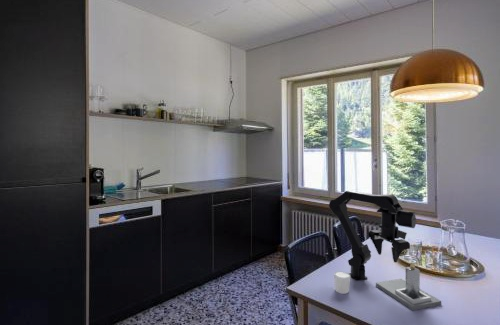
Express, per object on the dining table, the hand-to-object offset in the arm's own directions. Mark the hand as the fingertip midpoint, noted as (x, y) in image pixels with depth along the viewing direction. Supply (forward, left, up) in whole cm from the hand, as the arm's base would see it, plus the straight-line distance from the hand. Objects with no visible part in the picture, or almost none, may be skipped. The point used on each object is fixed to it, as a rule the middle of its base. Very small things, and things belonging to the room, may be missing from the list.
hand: (387, 258), depth 126 cm
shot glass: (-3, -21, -13) cm, 25 cm away
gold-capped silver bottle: (+12, +2, -11) cm, 17 cm away
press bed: (+8, +3, -13) cm, 16 cm away
